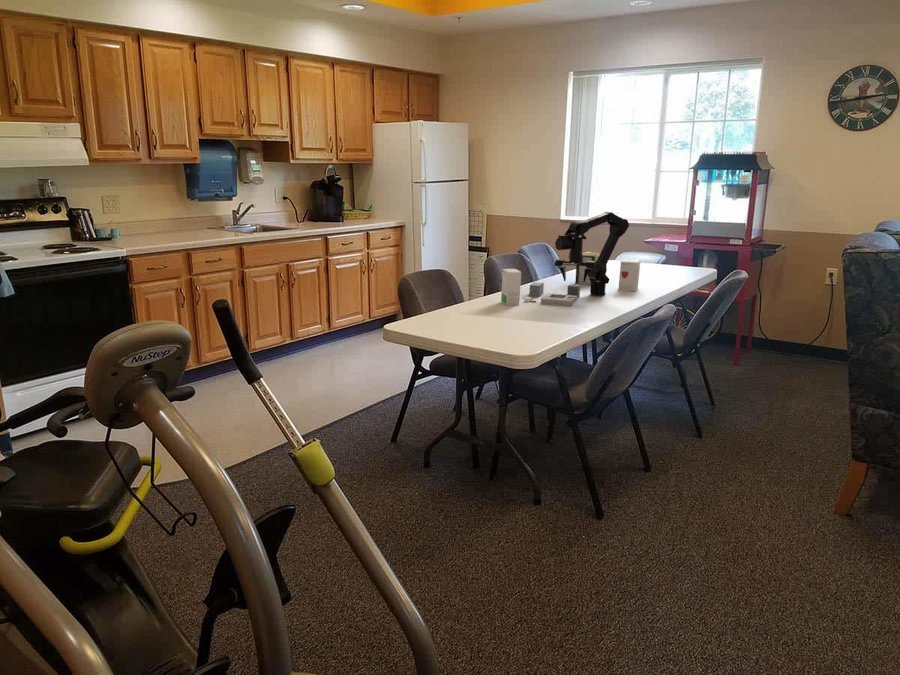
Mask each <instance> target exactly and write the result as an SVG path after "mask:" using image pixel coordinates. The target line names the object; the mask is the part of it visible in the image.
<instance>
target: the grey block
mask: <svg viewBox="0 0 900 675" xmlns="http://www.w3.org/2000/svg"><path fill="white" fill-rule="evenodd" d="M580 292H581V284H576V283H575V284H573V283H570V284H568V285H567V293H566V294H569V295H577V300H578V299H579V298H580V297H581V296H580V295H581V293H580Z"/></svg>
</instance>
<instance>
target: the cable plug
mask: <svg viewBox="0 0 900 675" xmlns="http://www.w3.org/2000/svg"><path fill="white" fill-rule="evenodd" d="M524 302H525V303H526V302H527V303H537V300H532V296H526V297H524Z"/></svg>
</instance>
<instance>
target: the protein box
mask: <svg viewBox="0 0 900 675" xmlns="http://www.w3.org/2000/svg"><path fill="white" fill-rule="evenodd" d="M600 253H601V252H596V251H595V252H593V251H586V252H582V254H583V255H584V259H583V262H587V261H595V262H596V261H597V259H598V257H599V255H600ZM585 268H586V266H575V282H574V283H575V284H577V285H586V286H591V285H592V281H590V280H589V277H588V275H587V277H586V280H585V282H584V272H585Z"/></svg>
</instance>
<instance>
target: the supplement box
mask: <svg viewBox="0 0 900 675" xmlns="http://www.w3.org/2000/svg"><path fill="white" fill-rule="evenodd" d="M640 267H641V260H640V259H630V258H629V259H627V258H622V259H621V261H620V267H619V268H620V269H619V277H618V278H619V280H618V291H626V292H637V290H638V288H639V278H640V269H641V268H640Z"/></svg>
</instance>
